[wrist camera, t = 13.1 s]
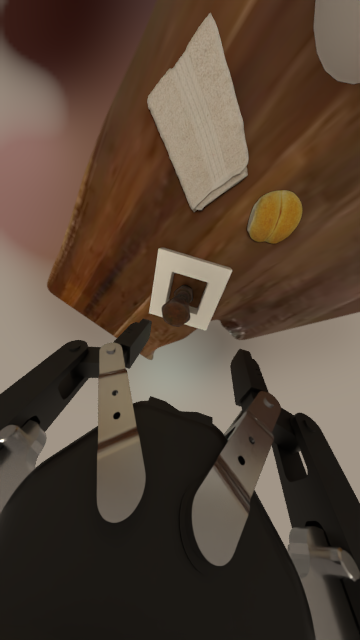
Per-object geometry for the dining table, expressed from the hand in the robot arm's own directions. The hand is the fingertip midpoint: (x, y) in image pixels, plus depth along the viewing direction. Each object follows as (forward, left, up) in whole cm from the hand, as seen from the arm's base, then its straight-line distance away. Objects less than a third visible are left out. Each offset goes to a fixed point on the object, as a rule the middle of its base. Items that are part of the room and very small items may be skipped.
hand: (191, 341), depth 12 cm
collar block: (+3, +5, -27) cm, 28 cm away
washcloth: (+8, -22, -28) cm, 36 cm away
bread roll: (-10, -14, -28) cm, 33 cm away
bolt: (+3, +5, -28) cm, 28 cm away
